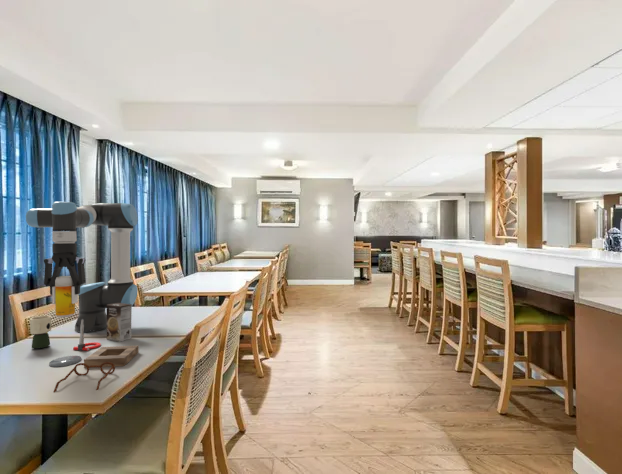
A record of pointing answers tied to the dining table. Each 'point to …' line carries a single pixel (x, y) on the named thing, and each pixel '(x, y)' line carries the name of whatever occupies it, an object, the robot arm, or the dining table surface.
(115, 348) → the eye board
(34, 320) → the character mug
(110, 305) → the coffee box
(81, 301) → the robot arm
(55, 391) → the glasses
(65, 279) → the beer can
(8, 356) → the dining table surface
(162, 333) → the dining table surface
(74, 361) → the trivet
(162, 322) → the dining table surface
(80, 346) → the tow hook
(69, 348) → the dining table surface
